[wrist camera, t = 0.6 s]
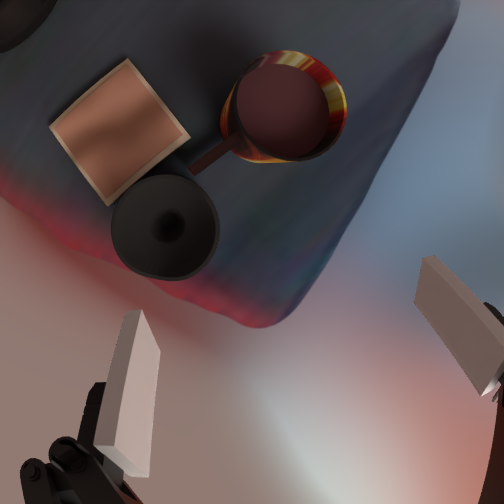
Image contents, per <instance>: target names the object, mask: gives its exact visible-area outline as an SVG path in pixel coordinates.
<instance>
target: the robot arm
mask: <svg viewBox="0 0 504 504" xmlns="http://www.w3.org/2000/svg"><path fill="white" fill-rule="evenodd" d="M56 1H57V0H0V53H2V52H5V51H8V50H10V49H12V48H14V47H15V46H17V45H18V44H20V43H21V42H23V41H24V40H25V39H27V38H28V37H29V36H30V35H31V34H32V33H33V32H34V31H35V30H36V29H37V28H38V27H39V26H40V25H41V24H42V23H43V22H44V20H45V19H46V18H47V16H48V15H49V14H50V12H51V11H52V9H53V7H54V5H55V3H56ZM414 303H415V305H416V306H417V307H418V309H419V310H420V311H421V312H422V314H423V315H424V316H425V318H426V319H427V320H428V322H429V323H430V324H431V326H432V327H433V328H434V329H435V331H436V332H437V334H438V335H439V336H440V338H441V339H442V341H443V342H444V343H445V345H446V346H447V348H448V349H449V350H450V352H451V353H452V355H453V356H454V357H455V359H456V360H457V362H458V363H459V365H460V366H461V368H462V369H463V370H464V372H465V374H466V375H467V377H468V378H469V380H470V381H471V383H472V384H473V386H474V387H475V389H476V390H477V392H478V393H479V395H480V396H483V395H484V394H486V393H488V392H490V391H491V390H493V388H494V387H495V385H496V384H497V382H498V381H499V382H500V383H501V386H500V388H499V389H498V391H497V392H496V394H495V395H494V397H493V399H492V402H494V401H495V399H496V398H497V397H498V401H497V403H498V407H497V415H496V423H495V430H494V437H493V443H492V449H491V454H490V459H489V464H488V468H487V473H486V477H485V481H484V485H483V489H482V492H481V496H480V499H479V502H478V504H504V317H502V314H501V313H500V312H499V311H498V310H497V309H496V308H495V307H493V306H492V305H490V304H489V303H487V302H485V303H482V302H481V301H480V300H479V299H478V298H477V297H476V296H475V295H474V294H473V292H472V291H471V290H470V289H469V288H468V287H467V286H466V285H465V284H464V283H463V282H462V281H461V280H460V279H459V278H458V277H457V276H455V275H454V273H453V272H452V271H450V270H449V269H448V268H447V267H446V266H445V265H444V264H443V263H442V262H441V261H440V260H439V259H438V258H437V257H436V256H429V257H425V258H423V259H422V265H421V270H420V276H419V281H418V286H417V291H416V295H415V300H414ZM160 353H161V352H160V350H159V348H158V345H157V343H156V341H155V339H154V336H153V335H152V332H151V330H150V327H149V325H148V323H147V321H146V319H145V316H144V314H143V311H142V309H140V310H133V311H127V312H126V314H125V317H124V320H123V323H122V327H121V330H120V334H119V337H118V341H117V344H116V348H115V351H114V355H113V359H112V363H111V366H110V371H109V374H108V378H107V382H96V383H95V384H94V386H93V387H92V388H91V390H90V391H89V393H88V397H87V401H86V406H85V408H84V415H83V416H82V421H81V425H80V429H79V434H78V438H77V441H76V440H75V439H74V438H71V437H69V436H68V437H61V438H58V439H57V440H56V441H54V442H53V443H52V445H51V447H50V449H49V460H50V462H51V463H47V464H45V463H43V462H42V461H41V460H39V459H36V458H30V459H28V460H27V461H25V462H24V464H23V465H22V467H21V470H20V479H21V485H22V490H23V495H24V500H25V504H143V503H142V502H141V500H140V499H139V498H138V497H137V496H136V494H135V493H134V492H133V491H132V489H131V488H130V487H129V485H128V484H127V483H126V482H125V481H124V480H123V473H124V472H125V473H127V474H128V475H129V476H130V477H149V469H150V467H149V466H150V453H151V439H152V426H153V415H154V404H155V394H156V386H157V378H158V369H159V361H160Z"/></svg>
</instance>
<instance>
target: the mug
mask: <svg viewBox="0 0 504 504" xmlns="http://www.w3.org/2000/svg"><path fill="white" fill-rule="evenodd" d="M346 116H347V110H346V100H345V96H344V93H343V90H342V88H341V85H340V83H339V82H338V80H337V79H336V77H335V75H334V74H333V73H332V72H331V71H330V70H329V69H328V68H327V67H326V66H325V65H324V64H322V63H321V62H320V61H318V60H317V59H315V58H313V57H311V56H309V55H306V54H303V53H300V52H295V51H275V52H271V53H267V54H265V55H263V56H261V57H259V58H257V59H255V60H254V61H253V62H251V63H250V64H249V65H248V66H247V67H246V68H245V69H244V71H243V72H242V73H241V75H240V76H239V78H238V80H237V82H236V84H235V85H234V87H233V89H232V91H231V93H230V94H229V96H228V98H227V100H226V102H225V104H224V106H223V108H222V110H221V115H220V130H221V134H222V137H223V139H224V141H222V142H221V143H220V144H218V145H217V146H216V147H214V148H213V149H212V150H210V151H209V152H208V153H206V154H205V155H204V156H202V157H201V158H200V159H199V160H197V161H196V162H194V163H193V164H191V165H190V166H189V167H188V168H189V170H190V171H191V173H192V174H193V175H194V176H195V175H197V174H198V173H200V172H201V171H203V170H204V169H205V168H207V167H208V166H209V165H210V164H212V163H213V162H214V161H216V160H217V159H218V158H220V157H221V156H222V155H224V154H225V153H226V152H228V151H229V150H230V149H231V150H232V151H233V152H234V153H235V154H236V155H238V156H239V157H241V158H243V159H245V160H247V161H251V162H255V163H273V162H299V161H305V160H310V159H313V158H315V157H318V156H320V155H322V154H323V153H325V152H326V151H328V150H329V149H330V148H331V147H332V146H333V145H334V144H335V143H336V142H337V140H338V139H339V137H340V136H341V134H342V131H343V128H344V126H345V121H346Z"/></svg>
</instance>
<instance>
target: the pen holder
mask: <svg viewBox="0 0 504 504" xmlns="http://www.w3.org/2000/svg"><path fill="white" fill-rule="evenodd" d="M219 235H220V224H219V218H218V213H217V211H216V208H215V206H214V204H213V202H212V200H211V199H210V197H209V196H208V195H207V193H206V192H205V191H204V190H203V189H202V188H201V187H199V186H198V185H197V184H196V183H194V182H192V181H191V180H189V179H186V178H184V177H181V176H177V175H171V174H162V175H155V176H151V177H147V178H145V179H143V180H140V181H139V182H137V183H135V184H134V185H133V186H131V187H130V188H129V189H128V190H127V191H126V192H125V193H124V194H123V195H122V197H121V198H120V200H119V201H118V203H117V205H116V207H115V210H114V213H113V217H112V222H111V236H112V241H113V245H114V248H115V250H116V252H117V255H118V256H119V258H120V259H121V261H122V262H123V263H124V264H125V265H126V266H127V267H128V268H129V269H130V270H132V271H134V272H135V273H137V274H140V275H142V276H145V277H149V278H154V279H159V280H165V281H180V280H184V279H187V278H190V277H192V276H194V275H196V274H197V273H198V272H200V271H201V270H202V269H203V268H204V267H205V266H206V265H207V264H208V262H209V261H210V260H211V258H212V257H213V255H214V253H215V250H216V248H217V245H218V242H219Z"/></svg>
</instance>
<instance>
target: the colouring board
mask: <svg viewBox="0 0 504 504" xmlns="http://www.w3.org/2000/svg"><path fill="white" fill-rule="evenodd" d="M49 128H50V129H51V131H52V132H53V134H54V135H55V137H56V138H57V139H58V141H59V142H60V144H61V145H62V147H63V148H64V149H65V151H66V152H67V154H68V155H69V156H70V158H71V159H72V160H73V162H74V163H75V165H76V166H77V167H78V169H79V170H80V171H81V173H82V174H83V175H84V177H85V178H86V179H87V181H88V182H89V183H90V185H91V186H92V187H93V188H94V190H95V191H96V192H97V194H98V195H99V196H100V198H101V199H102V200H103V201H104V203H105V204H106V205H107V206H109V205H111V204H112V203H113V202H114V201H115V200H116V199H117V198H119V197H120V196H121V195H122V194H123V193H124V192H125V191H126V190H128V189H129V188H130V187H131V186H132V185H133V184H134V183H136V182H137V181H138V180H139V179H140V178H141V177H143V176H144V175H145V174H146V173H147V172H149V171H150V170H151V169H152V168H153V167H155V166H156V165H157V164H158V163H160V162H161V161H162V160H163V159H165V158H166V157H167V156H168V155H170V154H171V153H172V152H173V151H175V150H176V149H177V148H179V147H180V146H181V145H182V144H184V143H185V142H186V141H188V140H189V139H190V138H191V137H190V136H189V134H188V133H187V132H186V131H185V129H184V128H183V127H182V125H181V124H180V123H179V122H178V120H177V119H176V118H175V117H174V115H173V114H172V113H171V111H170V110H169V109H168V108H167V106H166V105H165V104H164V103H163V101H162V100H161V99H160V98H159V96H158V95H157V94H156V92H155V91H154V90H153V89H152V87H151V86H150V85H149V84H148V82H147V81H146V80H145V79H144V77H143V76H142V75H141V74H140V72H139V71H138V70H137V69H136V68H135V66H134V65H133V64H132V63H131V61H130V60H129V59H128V58H127V59H126V60H125V61H123V62H122V63H121V64H119V65H118V66H117V67H116V68H114V69H113V70H112V71H110V72H109V73H108V74H107V75H105V76H104V77H103V78H102V79H100V80H99V81H98V82H97V83H96V84H94V85H93V86H92V87H91V88H90V89H89V90H87V91H86V92H85V93H84V94H83V95H82V96H81V97H80V98H78V99H77V100H76V101H75V102H74V103H73V104H72V105H71V106H70V107H69V108H68V109H67V110H65V111H64V112H63V113H62V114H61V115H60V116H59V117H58V118H57V119H56V120H55V121H54V122H53V123H52V124H51V125H50V126H49Z"/></svg>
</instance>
